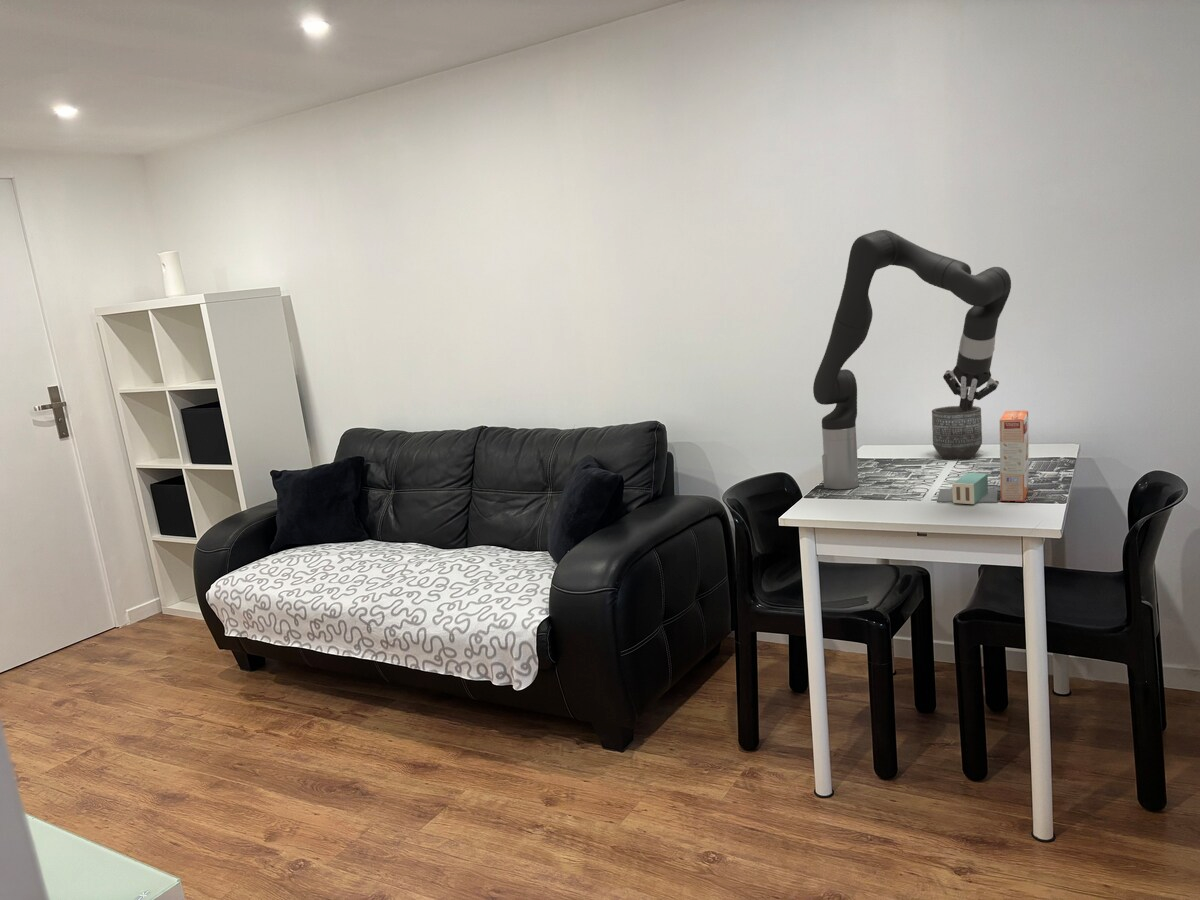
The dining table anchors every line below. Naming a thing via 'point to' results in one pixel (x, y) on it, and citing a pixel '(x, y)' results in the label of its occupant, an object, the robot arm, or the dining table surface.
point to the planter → (956, 432)
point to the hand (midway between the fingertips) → (965, 409)
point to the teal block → (970, 488)
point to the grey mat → (990, 497)
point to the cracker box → (1014, 456)
